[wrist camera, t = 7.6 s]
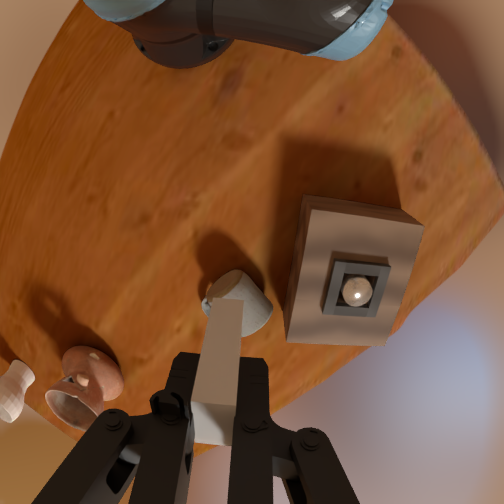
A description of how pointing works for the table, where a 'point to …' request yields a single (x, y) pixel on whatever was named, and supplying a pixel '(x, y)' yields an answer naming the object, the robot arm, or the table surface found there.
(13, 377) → the cup
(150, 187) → the table surface
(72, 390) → the ceramic jug
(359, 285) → the peg
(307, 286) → the socket block
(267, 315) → the ceramic mug
